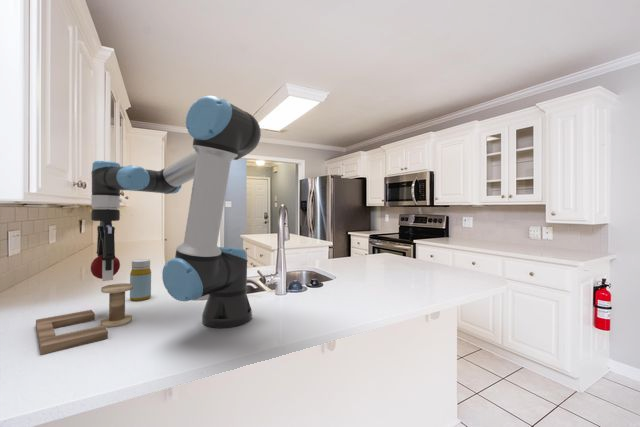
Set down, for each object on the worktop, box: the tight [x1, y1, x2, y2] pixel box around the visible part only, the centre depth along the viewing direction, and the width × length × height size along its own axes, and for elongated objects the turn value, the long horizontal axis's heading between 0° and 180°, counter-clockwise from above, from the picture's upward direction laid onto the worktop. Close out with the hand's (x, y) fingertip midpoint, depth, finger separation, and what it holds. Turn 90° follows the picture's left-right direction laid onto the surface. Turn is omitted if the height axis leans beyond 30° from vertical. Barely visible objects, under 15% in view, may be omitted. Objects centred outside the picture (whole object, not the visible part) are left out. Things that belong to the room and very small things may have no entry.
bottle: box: [129, 258, 152, 302], centre depth 114 cm, size 7×7×15 cm
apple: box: [90, 255, 121, 280], centre depth 96 cm, size 8×8×8 cm
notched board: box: [35, 309, 109, 355], centre depth 82 cm, size 24×13×2 cm, turn 46°
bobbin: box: [100, 282, 133, 328], centre depth 90 cm, size 8×8×11 cm
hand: (105, 278), depth 96 cm, fingers closed on apple, 8 cm apart
